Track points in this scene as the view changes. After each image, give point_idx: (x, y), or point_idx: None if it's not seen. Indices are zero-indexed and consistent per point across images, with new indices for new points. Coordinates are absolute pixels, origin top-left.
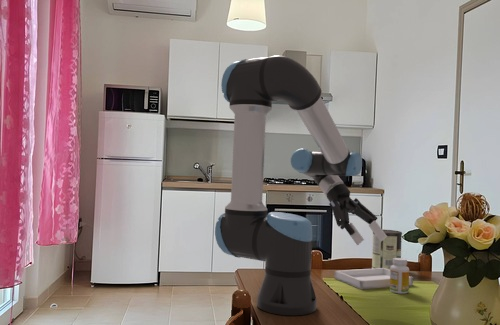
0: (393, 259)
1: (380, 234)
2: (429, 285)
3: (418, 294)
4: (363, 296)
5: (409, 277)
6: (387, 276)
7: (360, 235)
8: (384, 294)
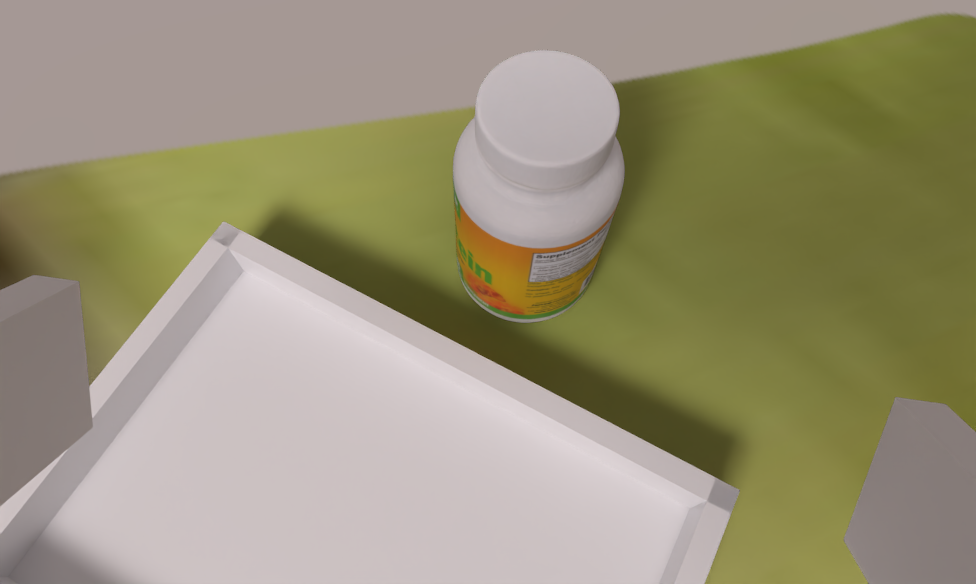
0: (595, 156)
1: (15, 392)
2: (162, 169)
3: None
4: (877, 398)
5: (253, 239)
6: (105, 495)
7: (971, 460)
8: (688, 309)
